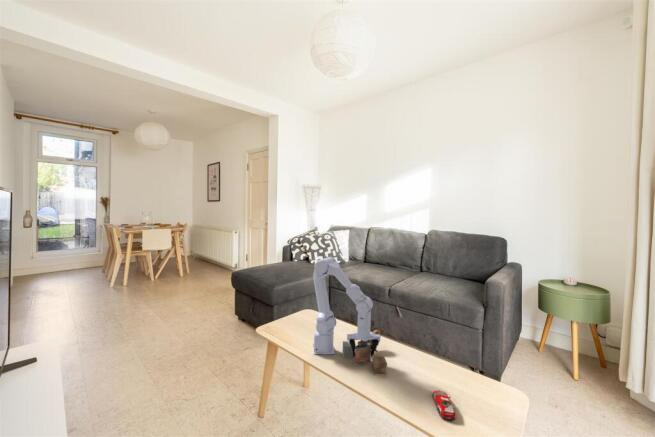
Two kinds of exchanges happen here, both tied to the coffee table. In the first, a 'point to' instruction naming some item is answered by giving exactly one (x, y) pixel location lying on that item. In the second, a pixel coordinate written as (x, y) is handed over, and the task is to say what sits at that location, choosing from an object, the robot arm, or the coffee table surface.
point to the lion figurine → (375, 333)
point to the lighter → (362, 352)
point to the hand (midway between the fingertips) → (362, 355)
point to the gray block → (347, 349)
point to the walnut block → (379, 365)
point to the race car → (444, 405)
